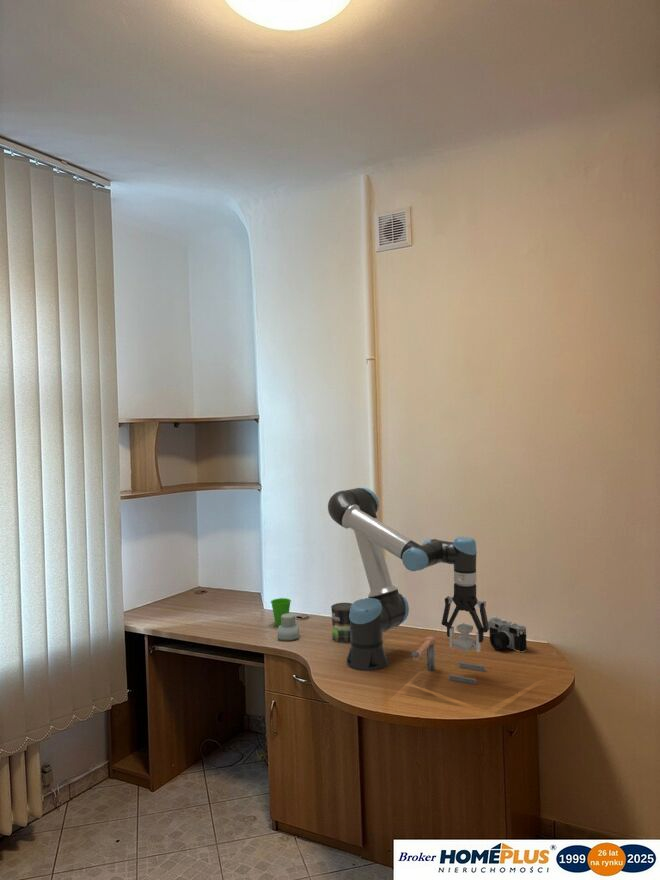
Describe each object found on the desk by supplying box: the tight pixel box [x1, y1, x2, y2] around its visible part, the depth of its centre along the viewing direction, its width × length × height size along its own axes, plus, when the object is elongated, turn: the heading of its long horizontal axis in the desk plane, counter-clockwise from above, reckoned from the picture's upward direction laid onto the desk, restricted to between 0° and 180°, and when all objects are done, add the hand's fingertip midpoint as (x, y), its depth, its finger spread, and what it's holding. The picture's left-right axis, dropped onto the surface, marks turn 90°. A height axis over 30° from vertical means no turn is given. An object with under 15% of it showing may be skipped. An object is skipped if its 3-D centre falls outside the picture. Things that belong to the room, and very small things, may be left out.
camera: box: [488, 615, 528, 651], centre depth 233 cm, size 18×10×10 cm, turn 33°
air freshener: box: [277, 612, 300, 642], centre depth 250 cm, size 11×8×10 cm
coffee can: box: [330, 602, 353, 644], centre depth 247 cm, size 10×10×14 cm
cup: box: [270, 597, 292, 628], centre depth 267 cm, size 9×9×11 cm
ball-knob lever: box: [411, 635, 436, 661], centre depth 206 cm, size 20×4×2 cm, turn 154°
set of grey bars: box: [425, 644, 486, 685], centre depth 210 cm, size 20×13×10 cm, turn 61°
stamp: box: [451, 622, 476, 653], centre depth 207 cm, size 9×7×8 cm
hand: (465, 648), depth 207 cm, fingers closed on stamp, 8 cm apart
